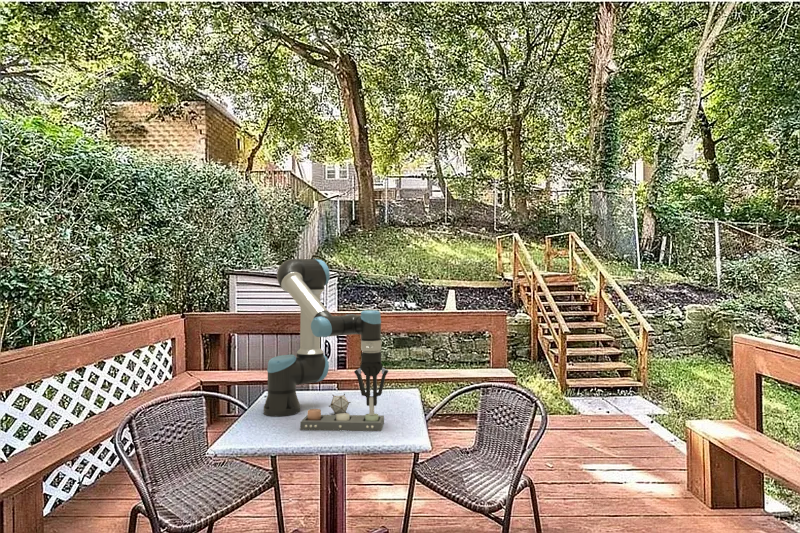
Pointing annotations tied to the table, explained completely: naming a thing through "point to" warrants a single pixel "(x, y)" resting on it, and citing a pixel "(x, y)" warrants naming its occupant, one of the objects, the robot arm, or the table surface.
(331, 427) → the console
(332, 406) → the game die
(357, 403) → the table surface
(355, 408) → the table surface
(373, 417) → the button two
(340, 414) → the button one
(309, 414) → the button three
